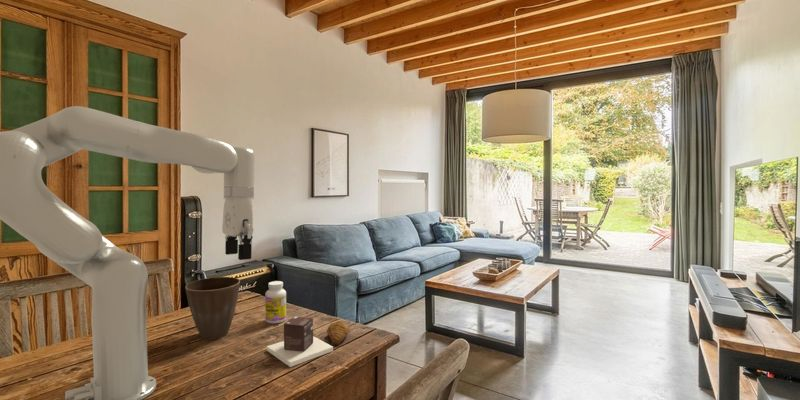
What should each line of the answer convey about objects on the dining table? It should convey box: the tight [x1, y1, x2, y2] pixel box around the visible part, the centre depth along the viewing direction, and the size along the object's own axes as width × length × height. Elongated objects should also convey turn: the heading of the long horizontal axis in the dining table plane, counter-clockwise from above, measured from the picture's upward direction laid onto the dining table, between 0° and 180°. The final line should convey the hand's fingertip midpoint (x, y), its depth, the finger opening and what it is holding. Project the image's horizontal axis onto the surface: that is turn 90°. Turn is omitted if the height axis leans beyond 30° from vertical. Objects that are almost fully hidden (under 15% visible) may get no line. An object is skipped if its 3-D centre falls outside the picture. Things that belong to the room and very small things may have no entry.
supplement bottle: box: [264, 280, 287, 324], centre depth 128 cm, size 7×7×13 cm
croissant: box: [326, 321, 350, 346], centre depth 115 cm, size 14×7×5 cm, turn 4°
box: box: [283, 316, 314, 351], centre depth 105 cm, size 6×6×7 cm
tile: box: [266, 335, 334, 368], centre depth 105 cm, size 13×13×1 cm
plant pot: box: [184, 276, 241, 340], centre depth 116 cm, size 15×15×16 cm
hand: (238, 256), depth 103 cm, fingers open, 9 cm apart
